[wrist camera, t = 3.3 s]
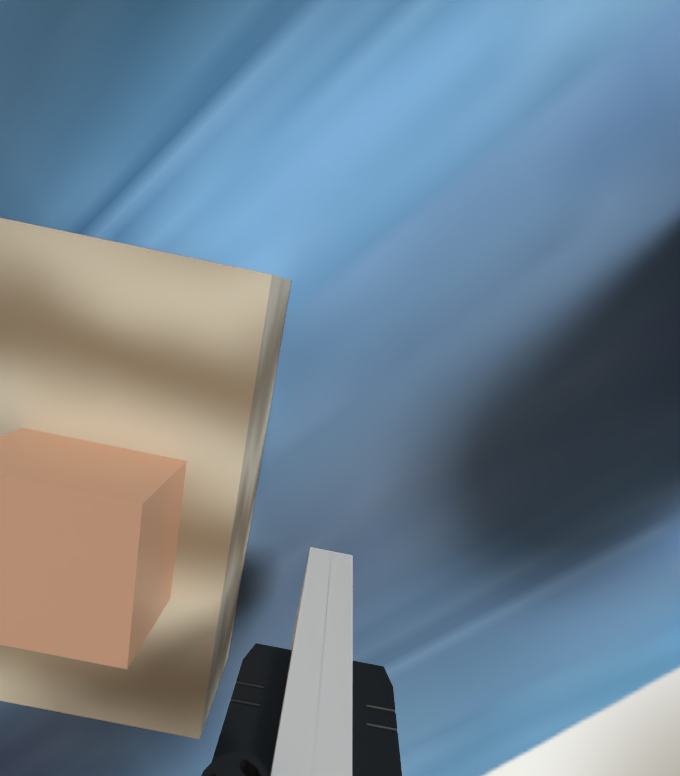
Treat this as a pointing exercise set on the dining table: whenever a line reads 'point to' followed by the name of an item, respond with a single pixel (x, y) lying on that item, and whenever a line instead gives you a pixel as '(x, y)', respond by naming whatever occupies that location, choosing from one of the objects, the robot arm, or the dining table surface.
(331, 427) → the dining table surface
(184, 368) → the wavy grain square board
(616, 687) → the dining table surface
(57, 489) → the tile
